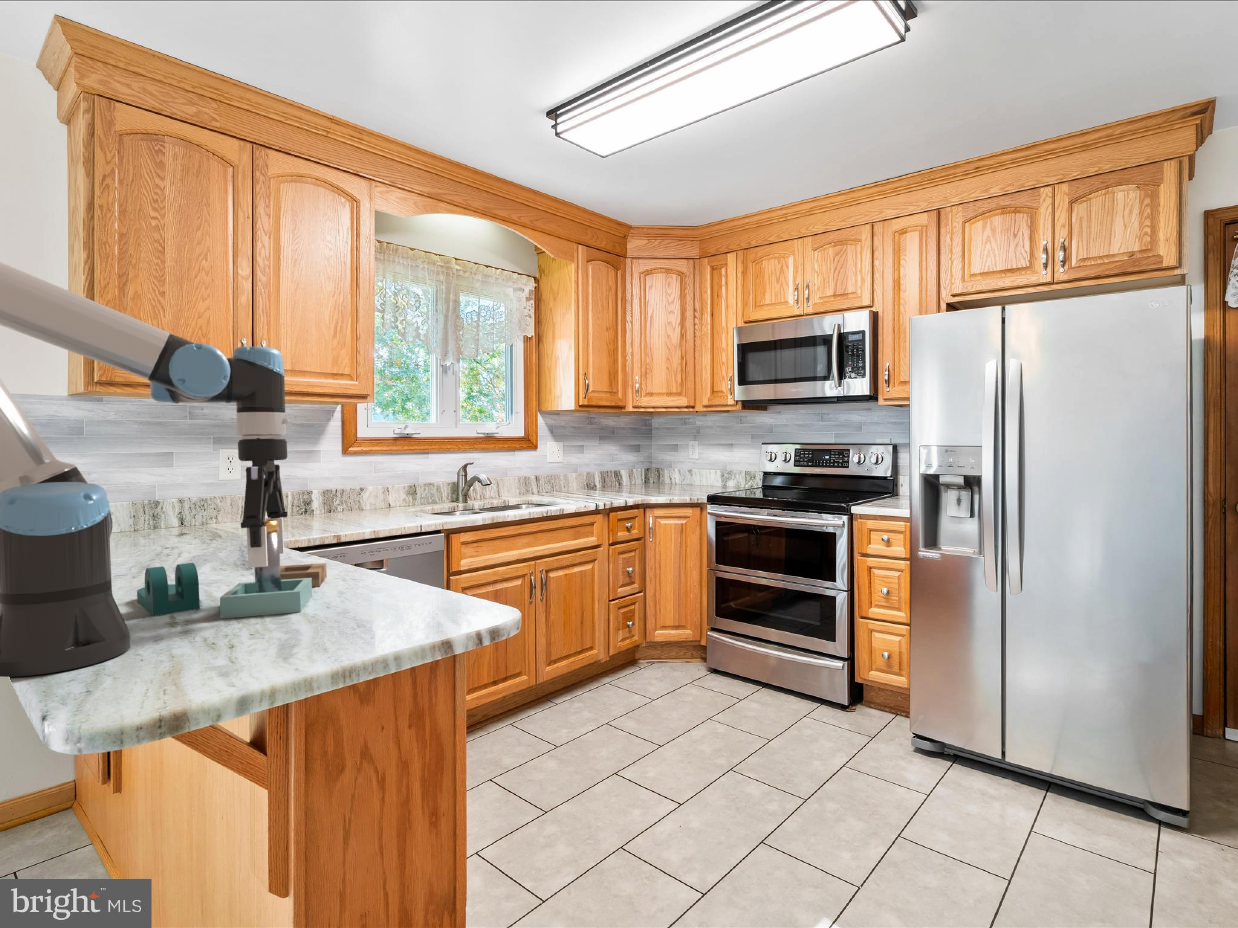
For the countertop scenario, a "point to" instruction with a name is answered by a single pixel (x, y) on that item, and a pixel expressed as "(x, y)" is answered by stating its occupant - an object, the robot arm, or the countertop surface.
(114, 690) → the countertop surface
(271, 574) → the hitch pin
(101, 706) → the countertop surface
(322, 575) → the collar block
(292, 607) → the tray
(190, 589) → the bracket
